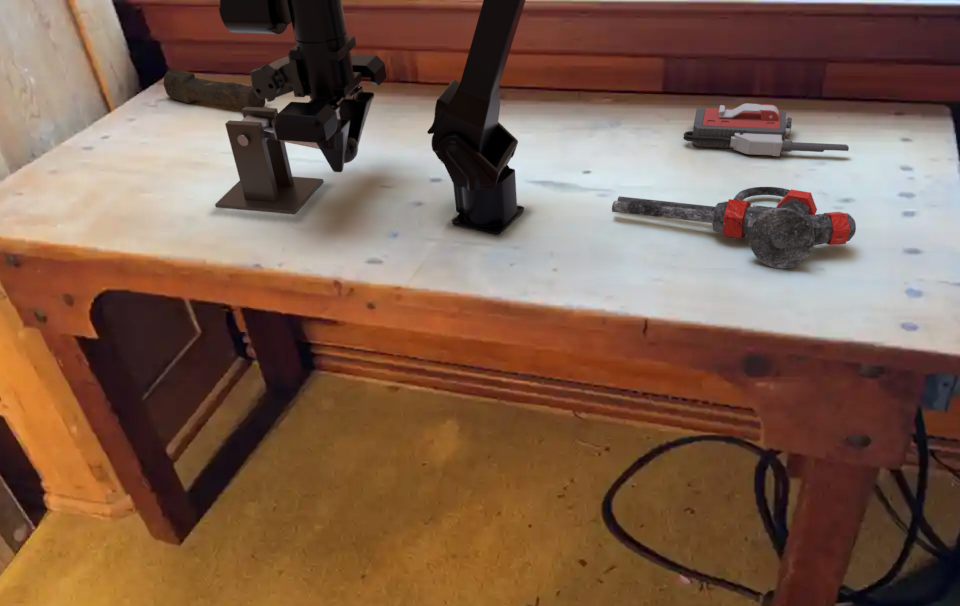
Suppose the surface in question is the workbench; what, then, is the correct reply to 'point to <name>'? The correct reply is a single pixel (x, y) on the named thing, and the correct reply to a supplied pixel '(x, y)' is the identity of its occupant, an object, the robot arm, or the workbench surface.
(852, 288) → the workbench surface
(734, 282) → the workbench surface
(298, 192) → the bracket
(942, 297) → the workbench surface
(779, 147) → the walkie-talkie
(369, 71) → the robot arm
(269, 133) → the lever
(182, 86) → the hand tool
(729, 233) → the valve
